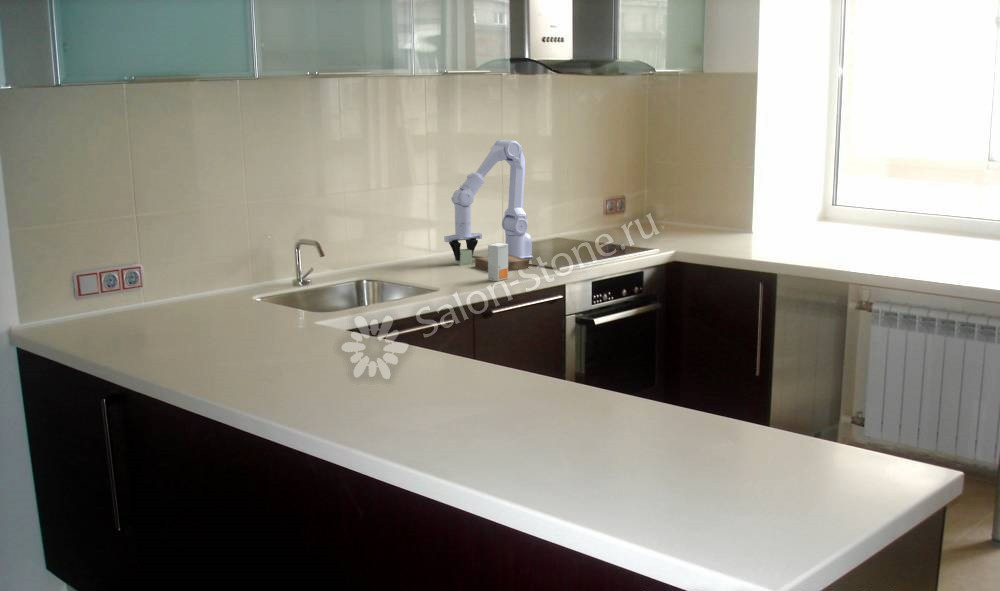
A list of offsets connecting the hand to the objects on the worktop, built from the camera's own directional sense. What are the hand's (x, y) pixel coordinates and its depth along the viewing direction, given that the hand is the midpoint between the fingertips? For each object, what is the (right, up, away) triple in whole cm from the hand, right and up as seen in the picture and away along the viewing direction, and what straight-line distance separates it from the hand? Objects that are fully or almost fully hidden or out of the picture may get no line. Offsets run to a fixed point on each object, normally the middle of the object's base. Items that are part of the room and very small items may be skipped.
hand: (463, 259), depth 364 cm
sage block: (0, -1, 0) cm, 1 cm away
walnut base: (+14, -3, -8) cm, 16 cm away
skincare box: (+13, -8, -29) cm, 32 cm away
